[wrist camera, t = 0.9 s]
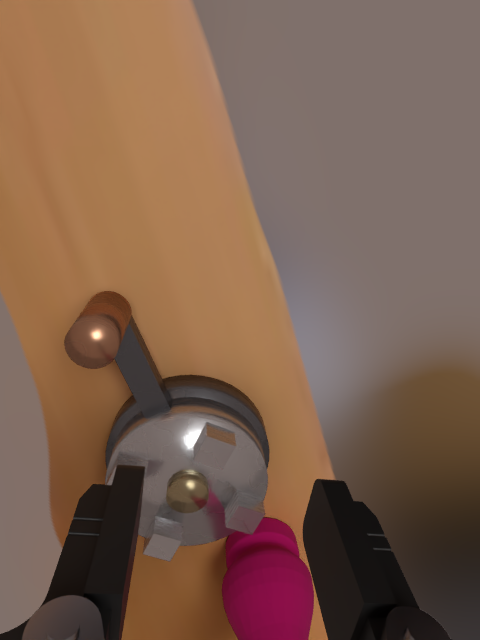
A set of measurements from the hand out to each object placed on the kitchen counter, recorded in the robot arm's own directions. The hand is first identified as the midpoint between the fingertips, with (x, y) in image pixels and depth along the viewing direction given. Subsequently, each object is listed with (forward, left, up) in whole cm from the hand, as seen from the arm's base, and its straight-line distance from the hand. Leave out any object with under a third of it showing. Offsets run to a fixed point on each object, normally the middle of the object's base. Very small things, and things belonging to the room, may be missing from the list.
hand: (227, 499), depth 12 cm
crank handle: (-7, +6, -17) cm, 20 cm away
